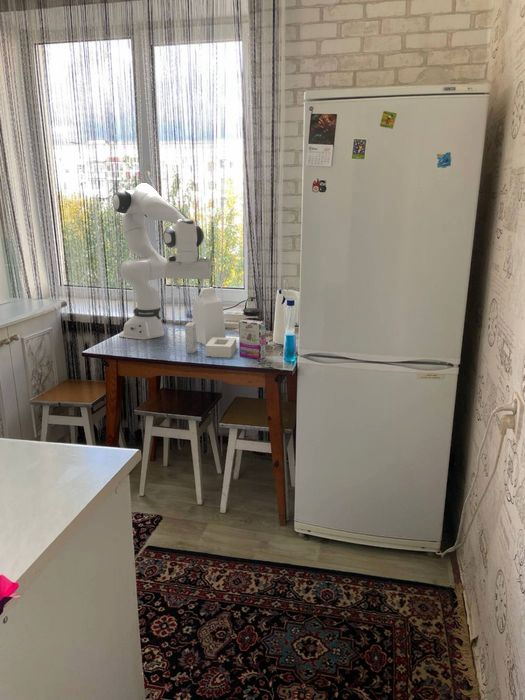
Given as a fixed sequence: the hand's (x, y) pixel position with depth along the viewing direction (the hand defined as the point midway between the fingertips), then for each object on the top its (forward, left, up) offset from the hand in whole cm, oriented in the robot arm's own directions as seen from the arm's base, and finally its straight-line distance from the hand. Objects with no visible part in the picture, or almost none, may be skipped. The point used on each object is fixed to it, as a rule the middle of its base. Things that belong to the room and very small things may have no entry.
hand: (188, 288), depth 232 cm
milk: (+4, +19, -29) cm, 35 cm away
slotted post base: (+14, 0, -29) cm, 32 cm away
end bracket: (0, 0, -29) cm, 29 cm away
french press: (+26, +14, -29) cm, 42 cm away
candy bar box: (+29, -5, -29) cm, 42 cm away
